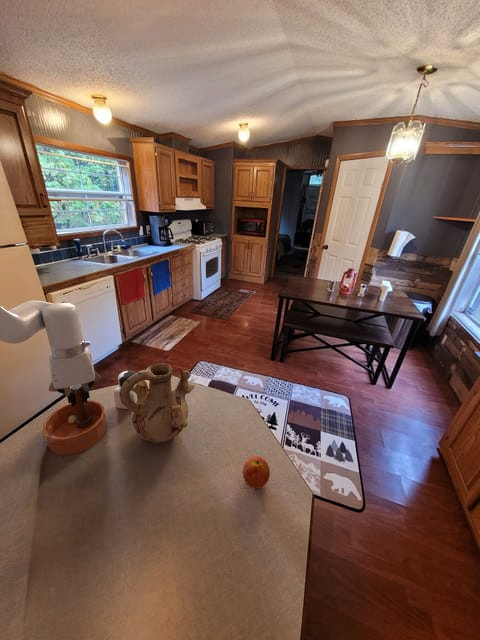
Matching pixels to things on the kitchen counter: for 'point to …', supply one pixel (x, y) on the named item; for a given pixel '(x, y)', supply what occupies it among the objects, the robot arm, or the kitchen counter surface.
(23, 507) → the kitchen counter surface
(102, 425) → the bowl
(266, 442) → the kitchen counter surface
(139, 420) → the ceramic vessel
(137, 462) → the kitchen counter surface
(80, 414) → the pestle
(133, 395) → the medicine bottle
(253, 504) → the kitchen counter surface
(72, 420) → the dumpling
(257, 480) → the fruit
